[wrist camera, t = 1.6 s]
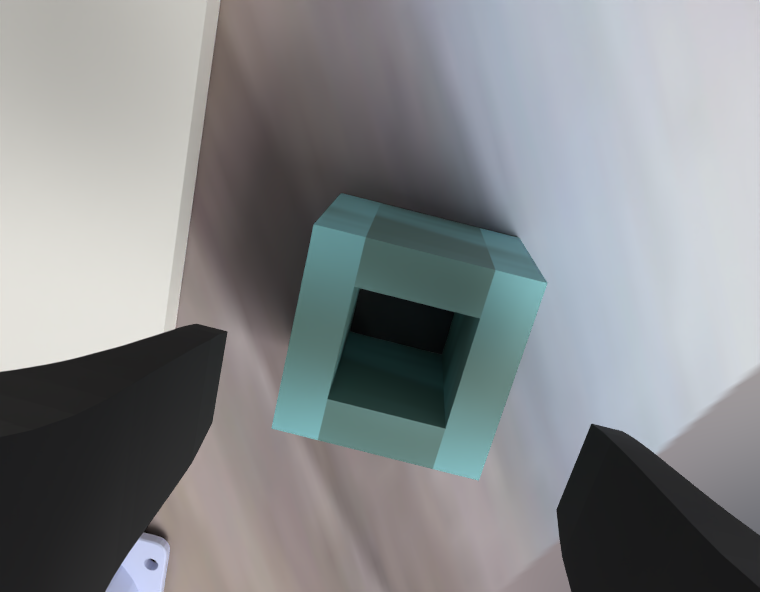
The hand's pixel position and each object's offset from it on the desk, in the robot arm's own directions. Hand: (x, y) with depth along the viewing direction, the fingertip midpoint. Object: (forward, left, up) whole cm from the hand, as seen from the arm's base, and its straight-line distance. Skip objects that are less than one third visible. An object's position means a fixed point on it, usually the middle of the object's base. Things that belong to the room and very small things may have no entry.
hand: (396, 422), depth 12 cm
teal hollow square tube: (0, 0, -8) cm, 8 cm away
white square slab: (+2, +16, -8) cm, 18 cm away
